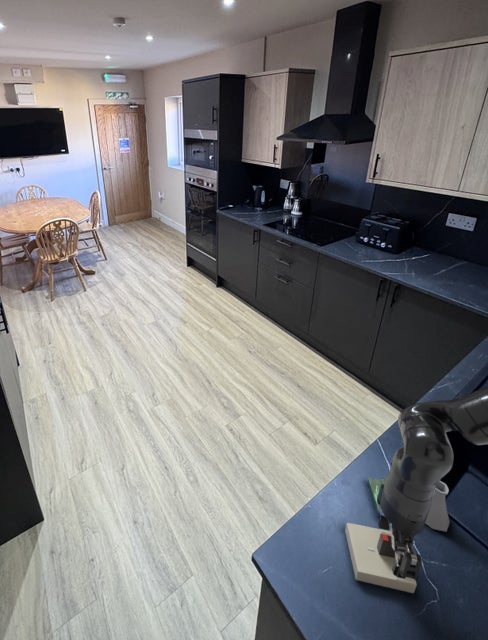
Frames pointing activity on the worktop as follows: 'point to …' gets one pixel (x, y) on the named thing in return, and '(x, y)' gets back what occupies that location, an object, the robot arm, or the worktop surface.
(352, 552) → the panel
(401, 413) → the robot arm
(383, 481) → the box
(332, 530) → the worktop surface
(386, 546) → the knob
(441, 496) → the flask
